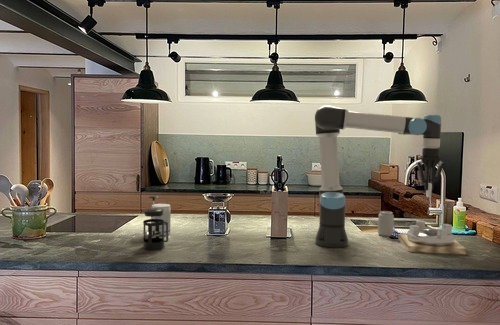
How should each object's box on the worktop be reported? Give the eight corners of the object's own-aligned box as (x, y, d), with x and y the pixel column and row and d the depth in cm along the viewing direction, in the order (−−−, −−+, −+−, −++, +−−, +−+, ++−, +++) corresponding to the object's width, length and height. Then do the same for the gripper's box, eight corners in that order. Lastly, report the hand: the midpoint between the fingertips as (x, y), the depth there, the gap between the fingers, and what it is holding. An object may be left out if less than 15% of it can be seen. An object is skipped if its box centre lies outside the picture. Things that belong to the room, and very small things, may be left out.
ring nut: (442, 248, 184) (442, 232, 183) (399, 239, 199) (399, 224, 198) (461, 241, 197) (462, 226, 197) (419, 232, 212) (420, 218, 211)
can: (394, 237, 214) (394, 213, 213) (378, 236, 215) (379, 212, 214) (392, 233, 221) (393, 210, 220) (377, 232, 223) (377, 210, 222)
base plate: (408, 251, 189) (408, 245, 189) (398, 238, 211) (398, 233, 210) (465, 254, 186) (466, 248, 185) (449, 241, 207) (450, 235, 207)
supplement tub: (152, 237, 208) (152, 207, 207) (149, 232, 217) (149, 204, 216) (172, 235, 212) (172, 206, 211) (168, 231, 221) (168, 202, 220)
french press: (138, 249, 186) (137, 197, 185) (146, 244, 196) (146, 194, 194) (163, 251, 185) (163, 198, 183) (171, 245, 194) (171, 195, 192)
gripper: (442, 147, 206) (439, 196, 208) (414, 147, 207) (412, 195, 209) (448, 148, 199) (445, 198, 201) (419, 147, 199) (417, 197, 201)
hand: (428, 196), depth 205 cm, fingers closed
